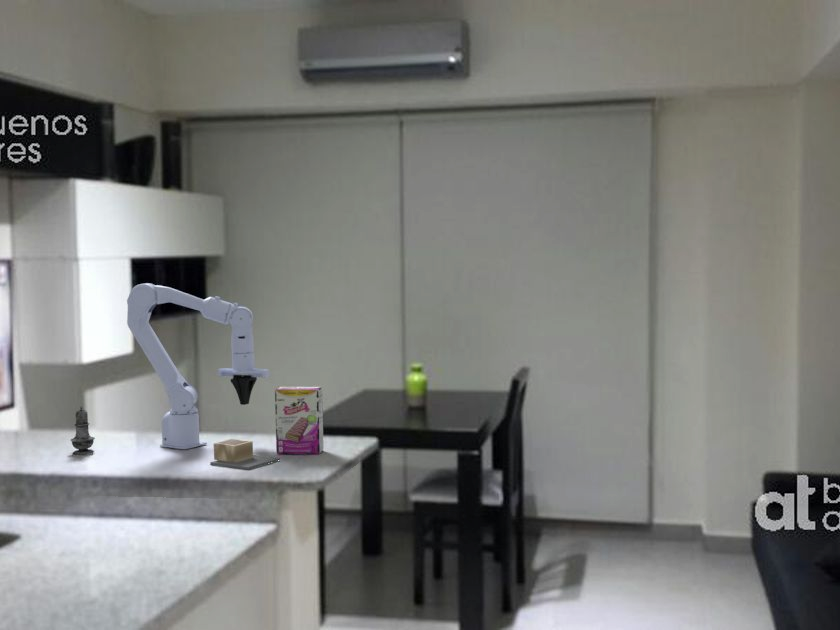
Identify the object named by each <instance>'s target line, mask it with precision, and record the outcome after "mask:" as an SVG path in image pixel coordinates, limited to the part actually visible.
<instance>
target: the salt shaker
mask: <svg viewBox="0 0 840 630" xmlns="http://www.w3.org/2000/svg"><path fill="white" fill-rule="evenodd" d="M88 416H89V415H88V411H87V410H86V409H83V406H79V409H78V410H76V412H75V424H74V427H75V435H74V437H73V438H71V439H70V442H71V444H72V447H73V448H74V449H76V450H74V451H73V452H72V455H74V456H83V455H90V454H94V453H95V450H93V449H91V448H92V446H93V444H94V440H95V439H96V438H95V436H91V435H90V432H89V425H90V423H89V419H88Z"/></svg>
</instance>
